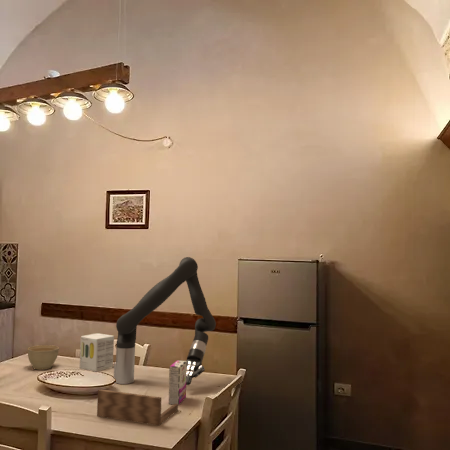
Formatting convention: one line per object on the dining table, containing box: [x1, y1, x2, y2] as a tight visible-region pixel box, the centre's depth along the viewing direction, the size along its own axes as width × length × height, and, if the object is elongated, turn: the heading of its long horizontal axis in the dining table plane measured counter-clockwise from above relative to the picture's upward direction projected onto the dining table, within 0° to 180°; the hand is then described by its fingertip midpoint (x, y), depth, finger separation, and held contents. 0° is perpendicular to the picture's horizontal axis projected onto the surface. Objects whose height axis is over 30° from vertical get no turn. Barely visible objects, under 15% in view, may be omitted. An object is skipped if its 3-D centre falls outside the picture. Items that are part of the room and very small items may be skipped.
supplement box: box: [79, 332, 115, 372], centre depth 259 cm, size 13×13×18 cm
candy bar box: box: [168, 360, 187, 406], centre depth 207 cm, size 11×5×16 cm, turn 168°
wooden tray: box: [96, 389, 179, 426], centre depth 190 cm, size 27×18×10 cm, turn 72°
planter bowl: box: [27, 344, 60, 371], centre depth 256 cm, size 16×16×11 cm
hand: (186, 384), depth 216 cm, fingers closed
